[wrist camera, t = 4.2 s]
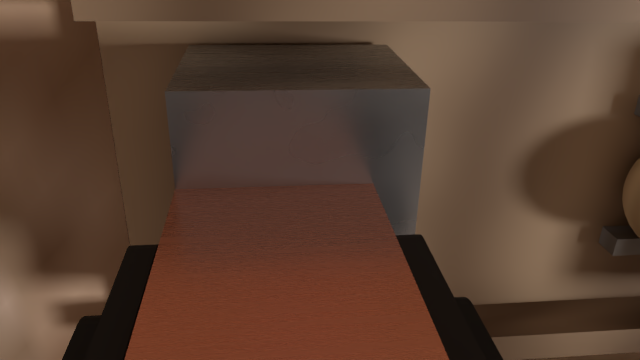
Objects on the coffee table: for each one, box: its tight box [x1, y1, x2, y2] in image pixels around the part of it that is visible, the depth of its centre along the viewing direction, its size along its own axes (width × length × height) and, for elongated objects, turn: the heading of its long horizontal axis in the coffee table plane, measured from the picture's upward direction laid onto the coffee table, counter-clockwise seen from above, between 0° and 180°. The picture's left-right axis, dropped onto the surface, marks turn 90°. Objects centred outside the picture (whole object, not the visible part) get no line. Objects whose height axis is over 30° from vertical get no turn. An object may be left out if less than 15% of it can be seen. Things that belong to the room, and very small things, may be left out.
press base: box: [71, 0, 640, 360], centre depth 15 cm, size 22×12×6 cm, turn 89°
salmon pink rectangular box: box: [124, 45, 449, 360], centre depth 10 cm, size 5×8×13 cm, turn 179°
